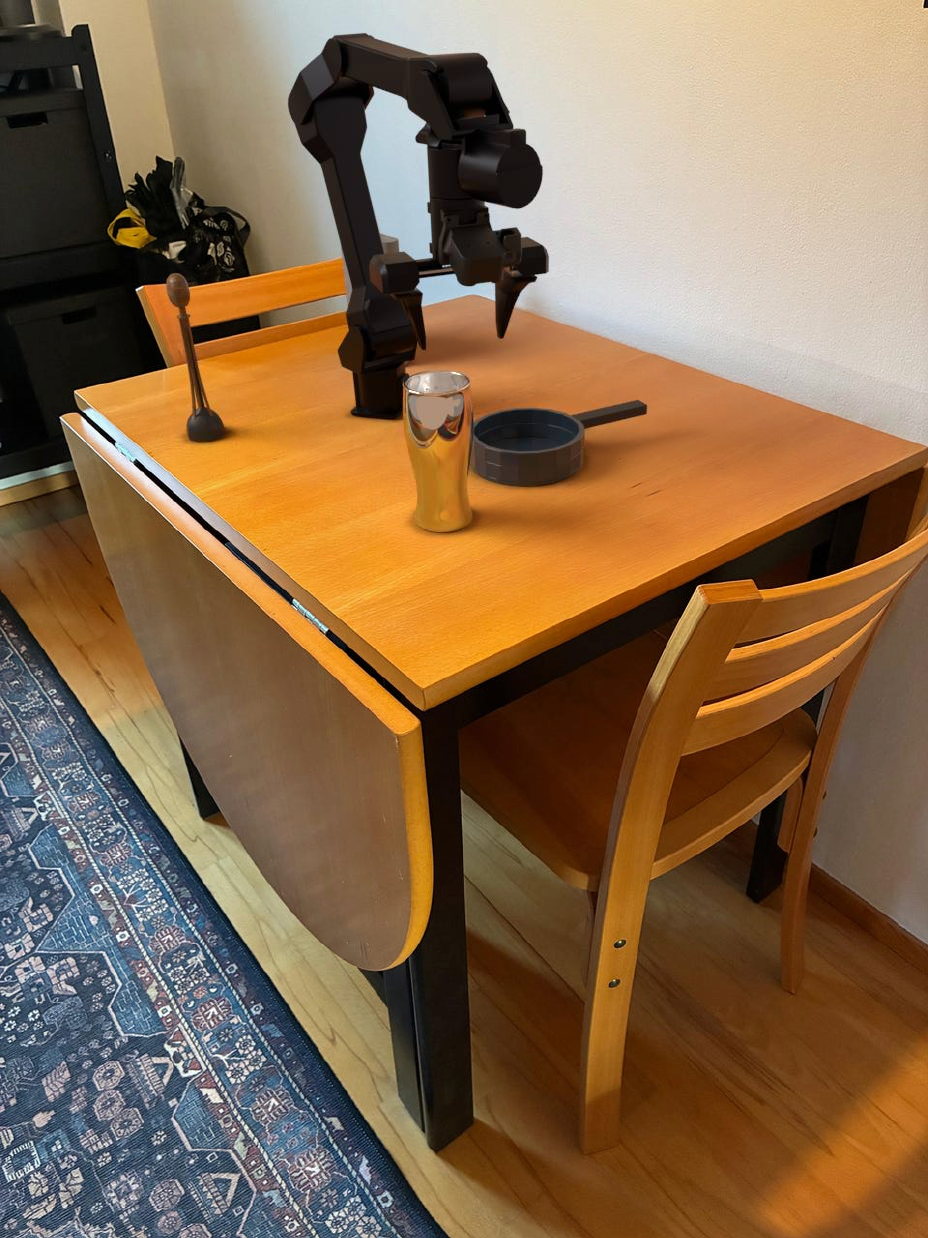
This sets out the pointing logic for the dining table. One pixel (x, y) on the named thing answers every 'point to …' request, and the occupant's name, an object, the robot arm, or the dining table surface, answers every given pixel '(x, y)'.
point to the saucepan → (527, 446)
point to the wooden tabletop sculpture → (193, 369)
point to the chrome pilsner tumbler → (439, 446)
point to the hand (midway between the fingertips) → (462, 343)
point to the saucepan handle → (611, 413)
